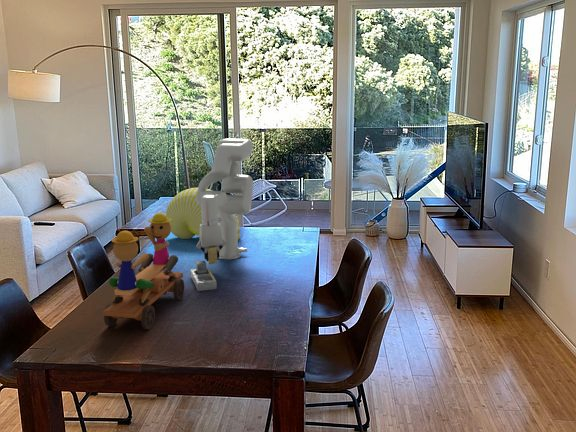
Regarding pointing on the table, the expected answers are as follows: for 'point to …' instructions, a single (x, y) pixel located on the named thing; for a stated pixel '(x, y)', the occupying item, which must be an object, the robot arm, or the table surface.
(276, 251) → the table surface
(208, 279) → the grey block holder tray
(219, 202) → the robot arm
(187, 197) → the shell
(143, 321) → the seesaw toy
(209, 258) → the brass block
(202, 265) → the seated steel block
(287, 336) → the table surface
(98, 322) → the table surface
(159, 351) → the table surface
